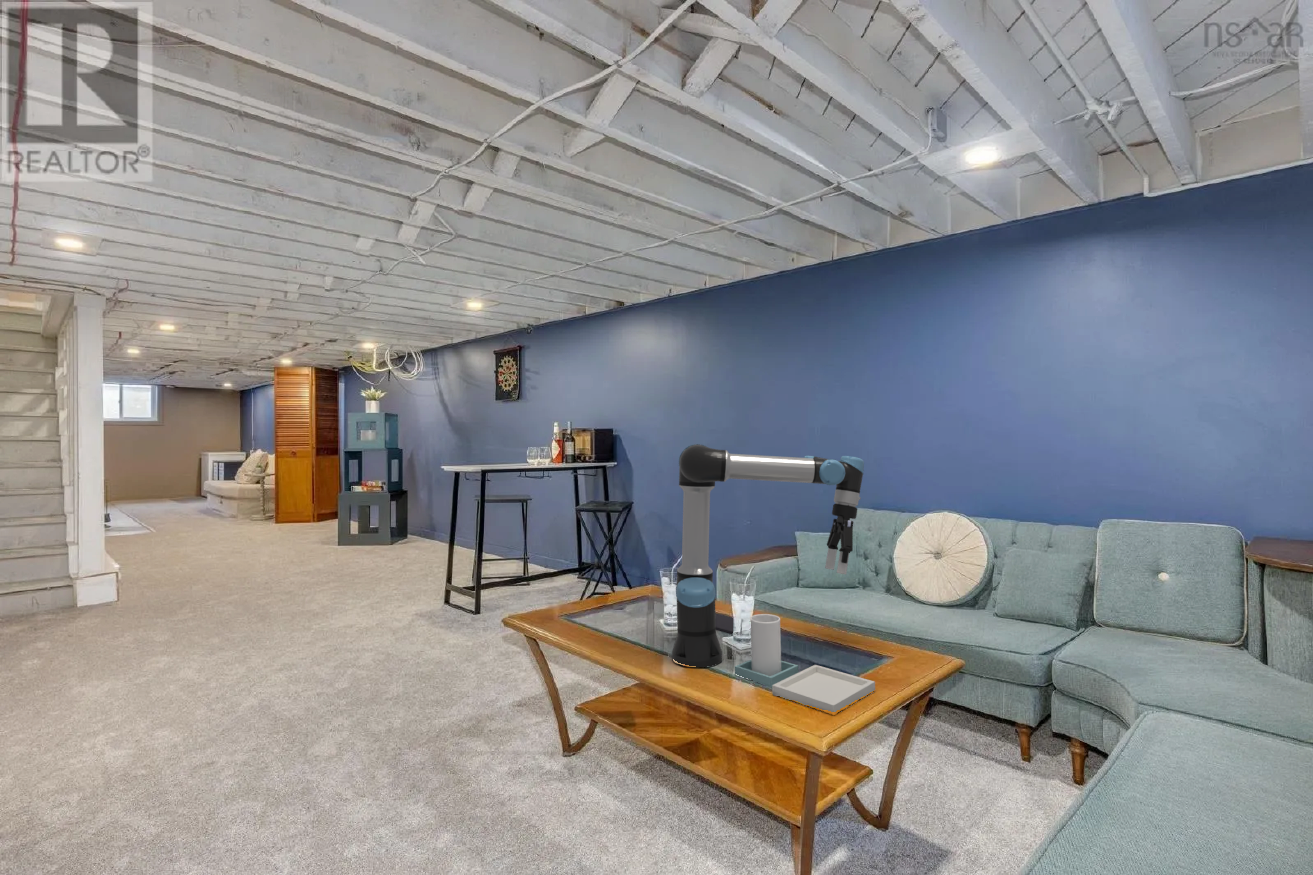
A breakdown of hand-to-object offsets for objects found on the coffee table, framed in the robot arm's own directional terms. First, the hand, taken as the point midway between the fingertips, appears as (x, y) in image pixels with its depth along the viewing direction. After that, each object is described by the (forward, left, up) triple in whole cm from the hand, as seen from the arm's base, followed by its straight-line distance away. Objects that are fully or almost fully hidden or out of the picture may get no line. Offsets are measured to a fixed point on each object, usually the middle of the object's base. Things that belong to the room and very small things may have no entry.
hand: (835, 571), depth 202 cm
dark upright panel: (-35, +25, -24) cm, 49 cm away
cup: (-26, -23, -24) cm, 42 cm away
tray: (-13, -36, -24) cm, 45 cm away
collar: (-26, -23, -24) cm, 42 cm away
